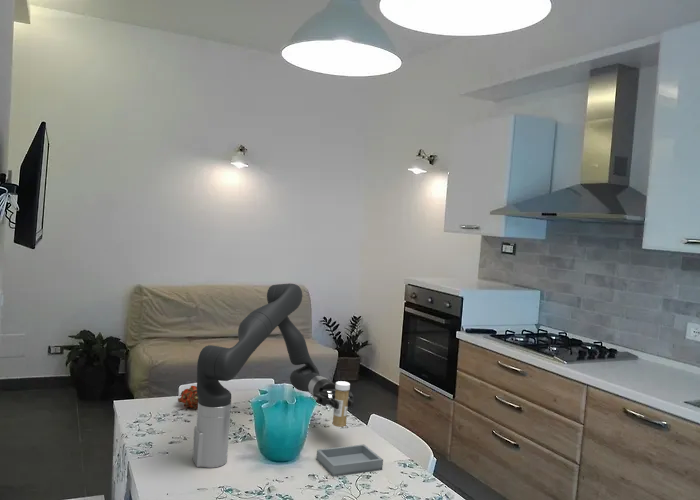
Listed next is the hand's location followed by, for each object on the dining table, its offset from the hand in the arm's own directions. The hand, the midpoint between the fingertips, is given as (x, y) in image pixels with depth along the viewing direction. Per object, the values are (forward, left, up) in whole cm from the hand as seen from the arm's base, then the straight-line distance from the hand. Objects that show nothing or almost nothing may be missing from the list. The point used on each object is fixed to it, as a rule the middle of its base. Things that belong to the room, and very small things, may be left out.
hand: (344, 405), depth 181 cm
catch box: (-2, -9, -15) cm, 17 cm away
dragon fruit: (-36, +52, -15) cm, 65 cm away
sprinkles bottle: (0, +3, -7) cm, 8 cm away
